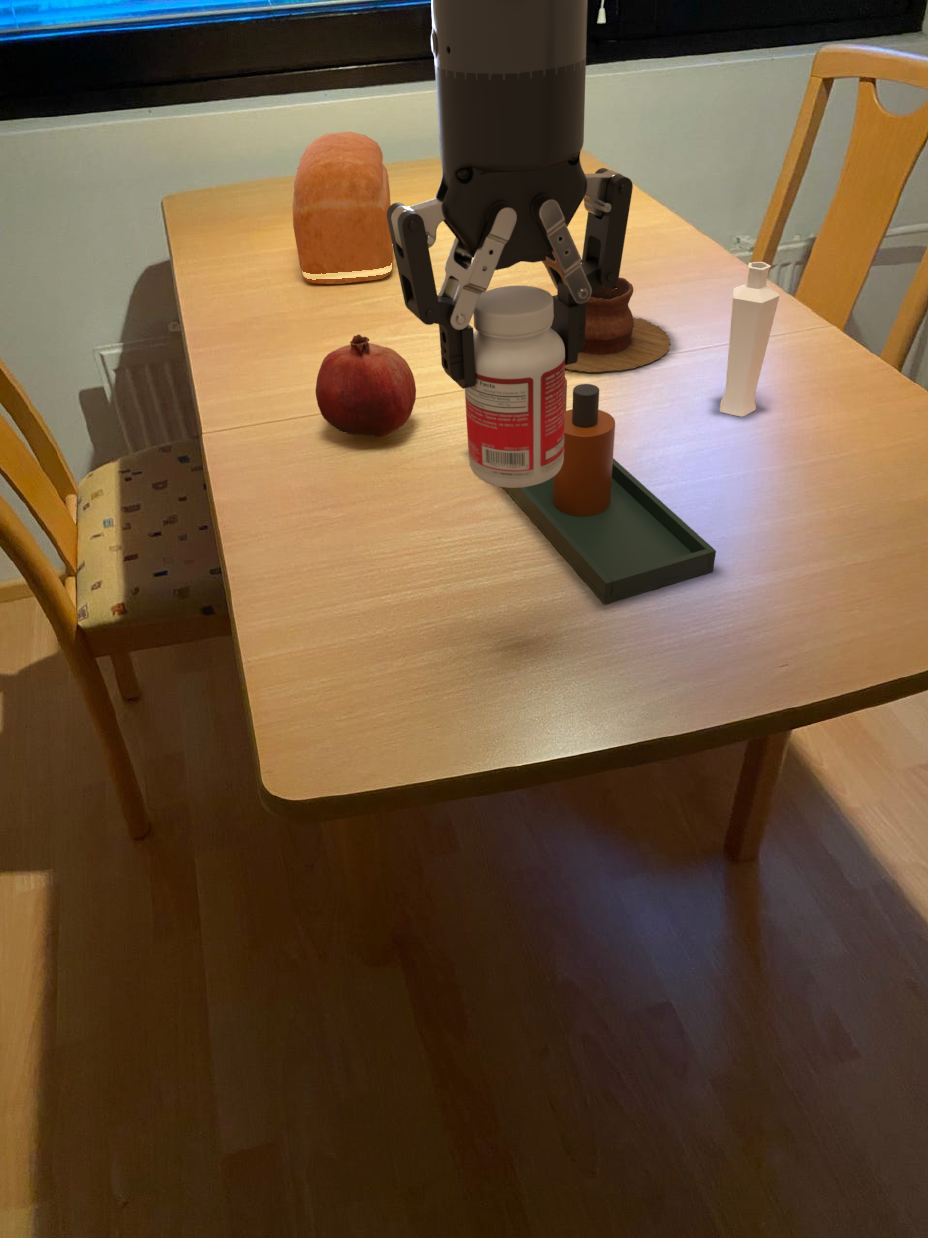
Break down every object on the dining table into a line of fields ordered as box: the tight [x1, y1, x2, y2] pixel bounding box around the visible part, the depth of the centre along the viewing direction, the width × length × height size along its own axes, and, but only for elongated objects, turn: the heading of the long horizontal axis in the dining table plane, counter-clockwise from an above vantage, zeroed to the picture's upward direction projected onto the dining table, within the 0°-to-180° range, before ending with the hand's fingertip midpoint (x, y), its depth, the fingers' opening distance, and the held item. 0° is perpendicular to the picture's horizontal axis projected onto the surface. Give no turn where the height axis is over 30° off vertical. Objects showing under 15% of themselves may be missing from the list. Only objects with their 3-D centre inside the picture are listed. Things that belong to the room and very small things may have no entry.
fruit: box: [315, 334, 417, 438], centre depth 95 cm, size 11×10×10 cm
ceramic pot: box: [550, 277, 672, 373], centre depth 111 cm, size 18×18×7 cm
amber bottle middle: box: [553, 383, 616, 516], centre depth 82 cm, size 5×5×11 cm
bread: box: [292, 131, 394, 285], centre depth 138 cm, size 14×26×16 cm, turn 4°
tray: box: [502, 457, 717, 605], centre depth 85 cm, size 10×27×2 cm, turn 22°
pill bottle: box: [464, 285, 566, 488], centre depth 57 cm, size 6×6×11 cm
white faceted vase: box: [719, 261, 781, 418], centre depth 94 cm, size 5×4×15 cm
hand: (514, 370), depth 56 cm, fingers closed on pill bottle, 6 cm apart
